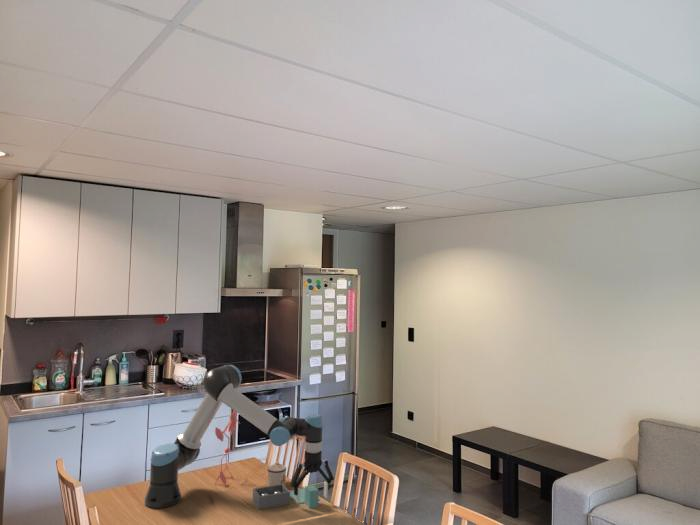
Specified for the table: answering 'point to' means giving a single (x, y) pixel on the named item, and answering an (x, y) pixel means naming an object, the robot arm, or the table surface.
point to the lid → (307, 496)
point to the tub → (271, 496)
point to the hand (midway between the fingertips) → (311, 499)
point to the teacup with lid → (276, 474)
